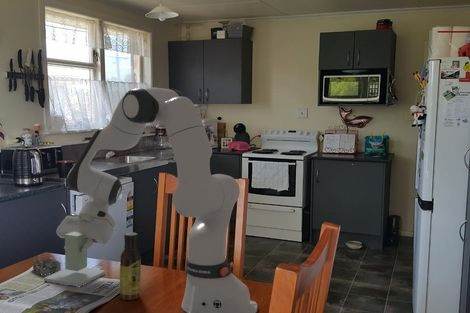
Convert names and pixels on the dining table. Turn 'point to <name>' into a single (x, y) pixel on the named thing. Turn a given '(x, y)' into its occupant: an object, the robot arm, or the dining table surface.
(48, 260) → the mossy rock
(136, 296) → the sauce bottle
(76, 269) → the sage block
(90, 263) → the dining table surface
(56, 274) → the tile
